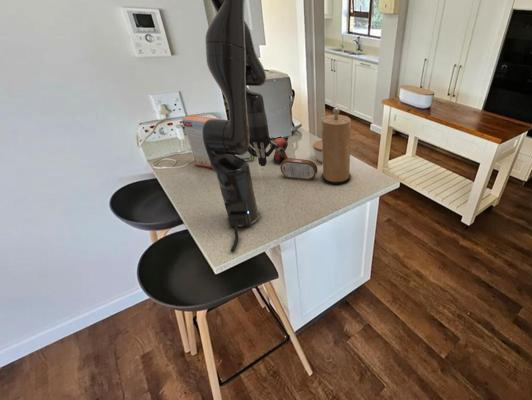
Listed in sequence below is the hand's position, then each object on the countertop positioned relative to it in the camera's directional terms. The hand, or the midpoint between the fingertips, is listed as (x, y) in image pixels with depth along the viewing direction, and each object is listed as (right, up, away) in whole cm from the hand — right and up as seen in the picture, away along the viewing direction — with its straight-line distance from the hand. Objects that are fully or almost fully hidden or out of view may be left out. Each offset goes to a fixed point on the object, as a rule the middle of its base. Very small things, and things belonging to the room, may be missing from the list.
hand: (263, 165), depth 112 cm
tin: (+13, -5, +5) cm, 15 cm away
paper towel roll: (+29, -5, +7) cm, 30 cm away
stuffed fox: (+2, +5, +18) cm, 19 cm away
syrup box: (-14, +5, +17) cm, 23 cm away
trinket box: (+22, +5, +20) cm, 30 cm away
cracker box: (-25, +1, +10) cm, 27 cm away
